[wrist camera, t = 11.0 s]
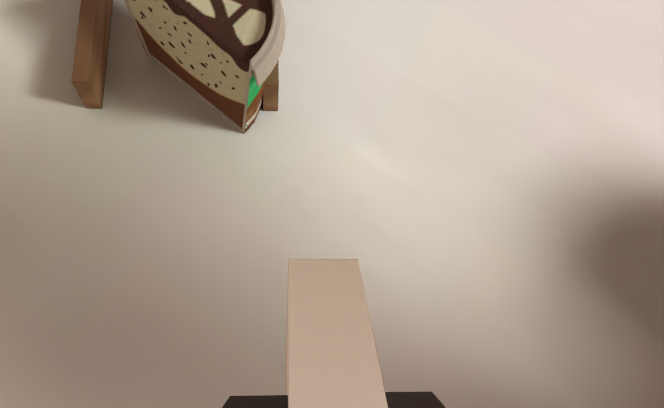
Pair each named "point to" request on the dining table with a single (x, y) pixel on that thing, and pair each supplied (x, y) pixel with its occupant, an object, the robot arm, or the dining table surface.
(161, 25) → the food container
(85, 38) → the caddy
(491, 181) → the dining table surface
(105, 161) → the dining table surface
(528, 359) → the dining table surface
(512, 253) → the dining table surface
